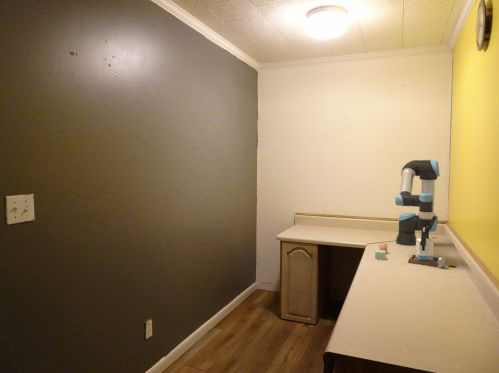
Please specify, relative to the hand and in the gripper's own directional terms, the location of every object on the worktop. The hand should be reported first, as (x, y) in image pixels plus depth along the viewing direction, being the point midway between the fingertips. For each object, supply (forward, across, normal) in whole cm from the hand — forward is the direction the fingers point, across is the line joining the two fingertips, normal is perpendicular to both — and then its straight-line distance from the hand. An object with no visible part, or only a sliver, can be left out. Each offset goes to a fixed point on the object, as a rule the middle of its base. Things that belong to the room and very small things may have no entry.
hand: (424, 253), depth 223 cm
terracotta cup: (+5, -10, -27) cm, 29 cm away
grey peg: (+5, +9, +10) cm, 14 cm away
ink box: (+3, 0, 0) cm, 3 cm away
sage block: (+5, +7, -25) cm, 26 cm away
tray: (+5, 0, 0) cm, 5 cm away
